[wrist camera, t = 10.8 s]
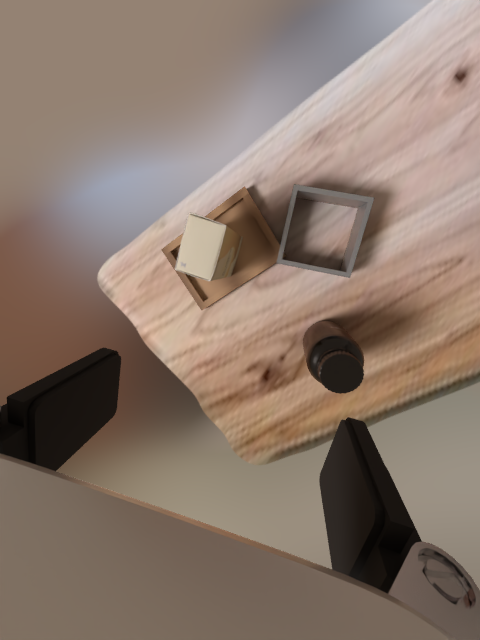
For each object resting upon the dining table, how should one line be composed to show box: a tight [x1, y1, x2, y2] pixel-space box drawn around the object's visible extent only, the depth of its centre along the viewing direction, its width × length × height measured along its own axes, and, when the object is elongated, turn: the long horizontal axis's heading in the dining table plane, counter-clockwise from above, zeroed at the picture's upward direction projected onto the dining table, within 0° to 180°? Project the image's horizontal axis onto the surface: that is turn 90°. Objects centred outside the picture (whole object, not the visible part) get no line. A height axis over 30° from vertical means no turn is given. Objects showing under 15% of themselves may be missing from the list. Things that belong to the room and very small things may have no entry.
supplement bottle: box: [303, 321, 364, 394], centre depth 34 cm, size 7×7×12 cm
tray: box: [162, 187, 286, 310], centre depth 38 cm, size 15×11×1 cm
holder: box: [277, 184, 374, 278], centre depth 34 cm, size 10×10×4 cm
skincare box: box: [175, 212, 243, 281], centre depth 32 cm, size 6×4×12 cm
